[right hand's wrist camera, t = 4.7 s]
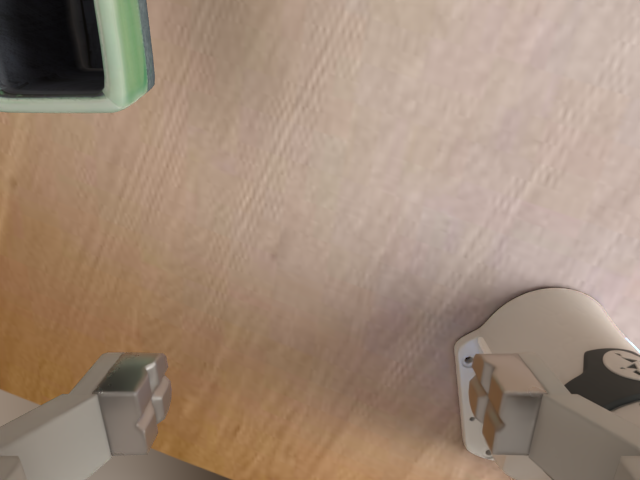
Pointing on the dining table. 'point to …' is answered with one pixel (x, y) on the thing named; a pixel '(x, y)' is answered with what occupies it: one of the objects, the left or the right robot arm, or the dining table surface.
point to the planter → (74, 55)
